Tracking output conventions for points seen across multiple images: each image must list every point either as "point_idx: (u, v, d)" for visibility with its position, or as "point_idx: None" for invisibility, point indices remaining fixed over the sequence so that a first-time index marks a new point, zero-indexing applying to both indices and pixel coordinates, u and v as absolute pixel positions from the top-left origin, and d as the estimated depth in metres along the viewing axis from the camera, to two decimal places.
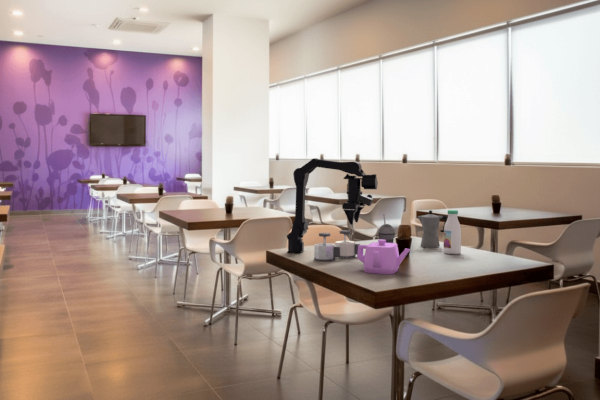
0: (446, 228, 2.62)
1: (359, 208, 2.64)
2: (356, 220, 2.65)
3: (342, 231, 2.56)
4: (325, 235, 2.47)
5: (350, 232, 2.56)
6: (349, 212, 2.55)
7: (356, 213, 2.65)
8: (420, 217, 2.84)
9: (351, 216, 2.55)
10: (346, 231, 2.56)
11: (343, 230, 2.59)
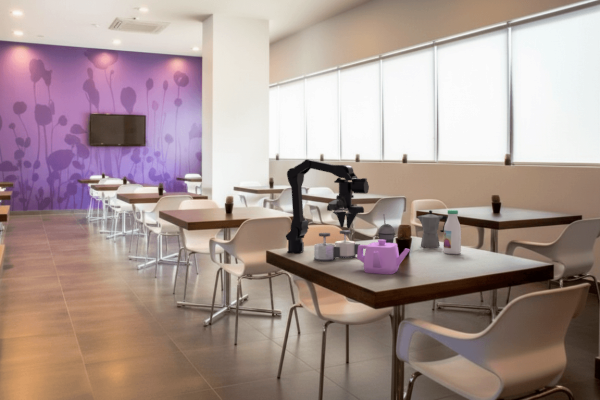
0: (446, 228, 2.62)
1: None
2: None
3: (342, 231, 2.56)
4: (325, 235, 2.47)
5: (350, 232, 2.56)
6: None
7: None
8: (420, 217, 2.84)
9: None
10: (346, 231, 2.56)
11: (343, 230, 2.59)
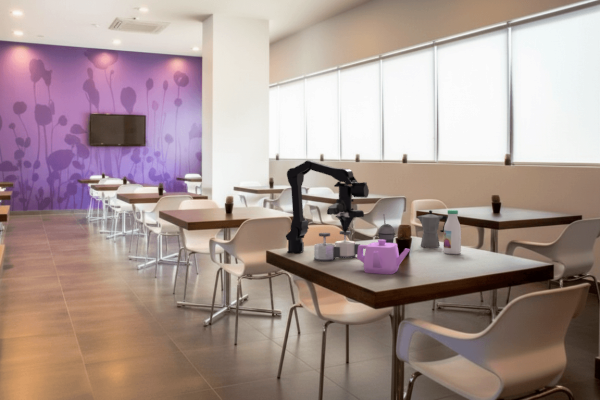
0: (446, 228, 2.62)
1: None
2: None
3: (342, 232, 2.56)
4: (325, 235, 2.47)
5: (350, 233, 2.56)
6: None
7: None
8: (420, 217, 2.84)
9: None
10: (346, 232, 2.56)
11: (343, 231, 2.59)
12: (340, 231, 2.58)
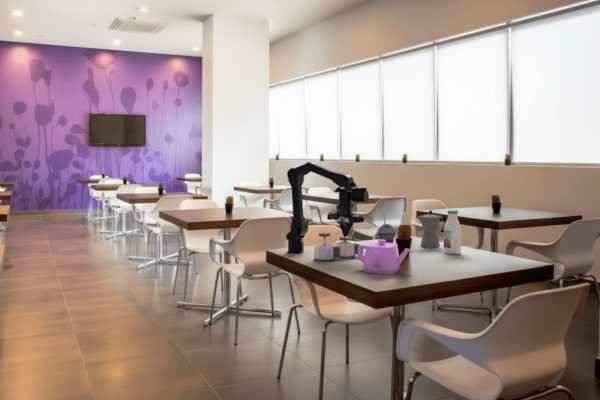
0: (446, 228, 2.62)
1: None
2: None
3: (342, 238, 2.56)
4: (325, 235, 2.47)
5: (350, 239, 2.56)
6: None
7: None
8: (420, 217, 2.84)
9: None
10: (346, 238, 2.56)
11: (343, 237, 2.59)
12: (340, 237, 2.58)
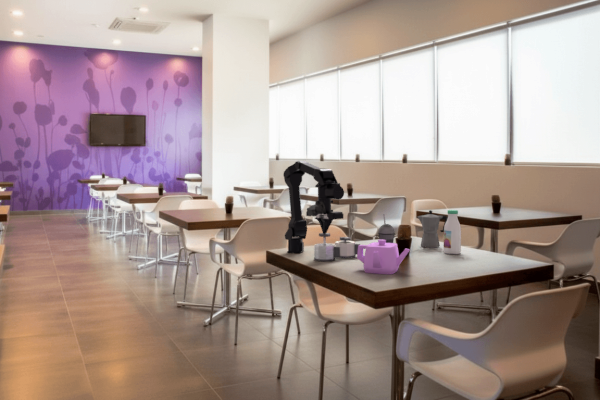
0: (446, 228, 2.62)
1: None
2: None
3: (342, 238, 2.56)
4: (325, 235, 2.47)
5: (350, 239, 2.56)
6: None
7: None
8: (420, 217, 2.84)
9: None
10: (346, 238, 2.56)
11: (343, 237, 2.59)
12: (340, 237, 2.58)
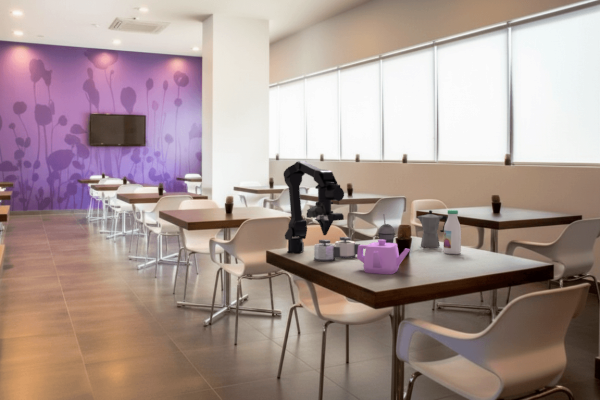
0: (446, 228, 2.62)
1: None
2: None
3: (342, 238, 2.56)
4: (325, 242, 2.47)
5: (350, 239, 2.56)
6: None
7: None
8: (420, 217, 2.84)
9: None
10: (346, 238, 2.56)
11: (343, 237, 2.59)
12: (340, 237, 2.58)
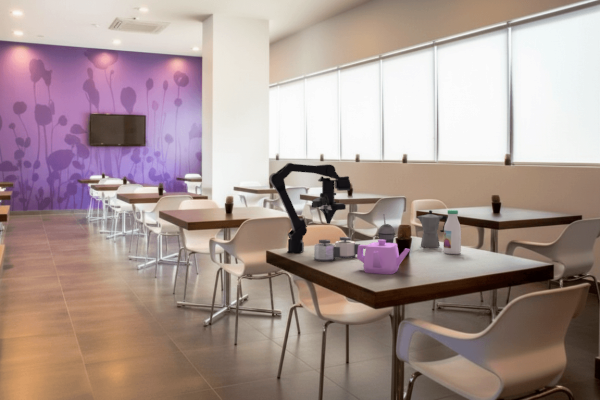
0: (446, 228, 2.62)
1: None
2: None
3: (342, 238, 2.56)
4: (325, 242, 2.47)
5: (350, 239, 2.56)
6: None
7: None
8: (420, 217, 2.84)
9: None
10: (346, 238, 2.56)
11: (343, 237, 2.59)
12: (340, 237, 2.58)
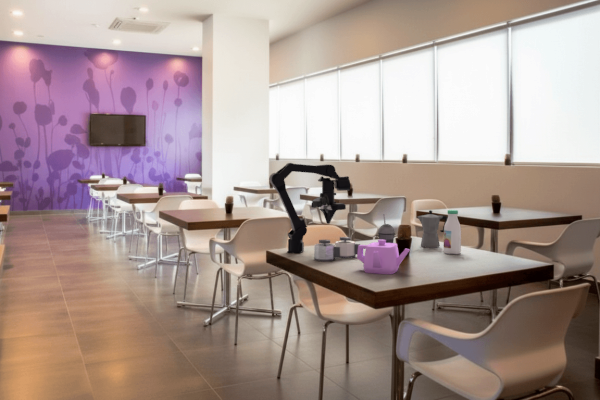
0: (446, 228, 2.62)
1: None
2: None
3: (342, 238, 2.56)
4: (325, 242, 2.47)
5: (350, 239, 2.56)
6: None
7: None
8: (420, 217, 2.84)
9: None
10: (346, 238, 2.56)
11: (343, 237, 2.59)
12: (340, 237, 2.58)
